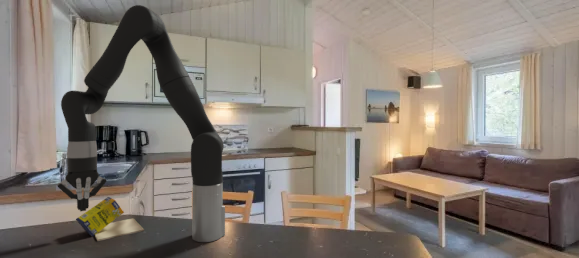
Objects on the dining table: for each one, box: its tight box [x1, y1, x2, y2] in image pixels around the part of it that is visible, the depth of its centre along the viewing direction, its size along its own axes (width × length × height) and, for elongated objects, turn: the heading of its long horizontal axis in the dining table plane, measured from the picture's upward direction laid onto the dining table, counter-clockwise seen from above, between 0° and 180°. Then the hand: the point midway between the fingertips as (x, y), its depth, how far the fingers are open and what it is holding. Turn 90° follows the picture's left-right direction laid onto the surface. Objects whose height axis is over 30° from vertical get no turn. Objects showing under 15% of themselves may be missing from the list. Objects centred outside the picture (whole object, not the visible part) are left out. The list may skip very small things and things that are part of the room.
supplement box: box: [75, 196, 125, 238], centre depth 94 cm, size 6×6×11 cm
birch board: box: [94, 218, 145, 242], centre depth 96 cm, size 13×14×1 cm
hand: (83, 210), depth 89 cm, fingers closed
